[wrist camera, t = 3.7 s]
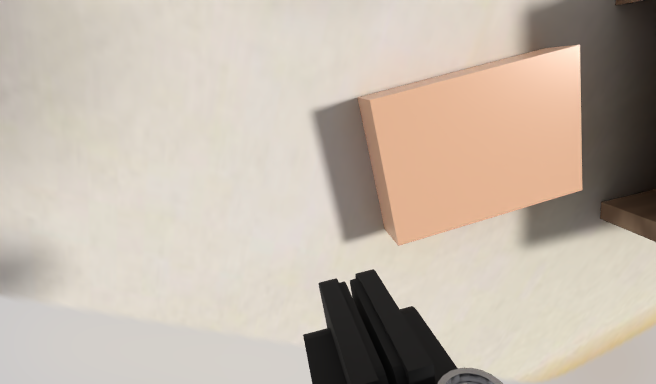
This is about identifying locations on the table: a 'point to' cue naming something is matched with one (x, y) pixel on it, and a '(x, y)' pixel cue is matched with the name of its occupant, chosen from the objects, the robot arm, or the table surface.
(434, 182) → the peach tile
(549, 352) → the table surface
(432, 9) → the table surface
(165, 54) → the table surface
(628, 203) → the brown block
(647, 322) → the table surface
